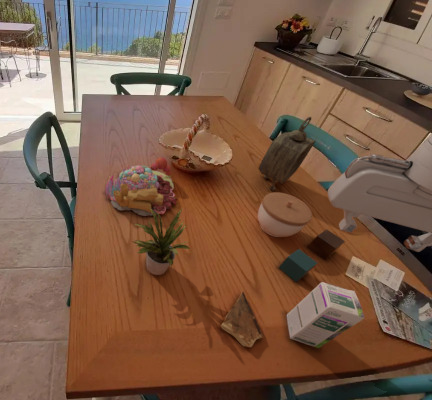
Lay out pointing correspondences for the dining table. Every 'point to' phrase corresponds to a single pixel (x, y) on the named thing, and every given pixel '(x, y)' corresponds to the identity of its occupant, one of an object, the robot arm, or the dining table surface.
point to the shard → (242, 323)
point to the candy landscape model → (143, 189)
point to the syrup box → (324, 315)
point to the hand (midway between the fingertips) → (376, 237)
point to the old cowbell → (286, 155)
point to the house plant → (161, 245)
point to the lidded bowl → (283, 214)
